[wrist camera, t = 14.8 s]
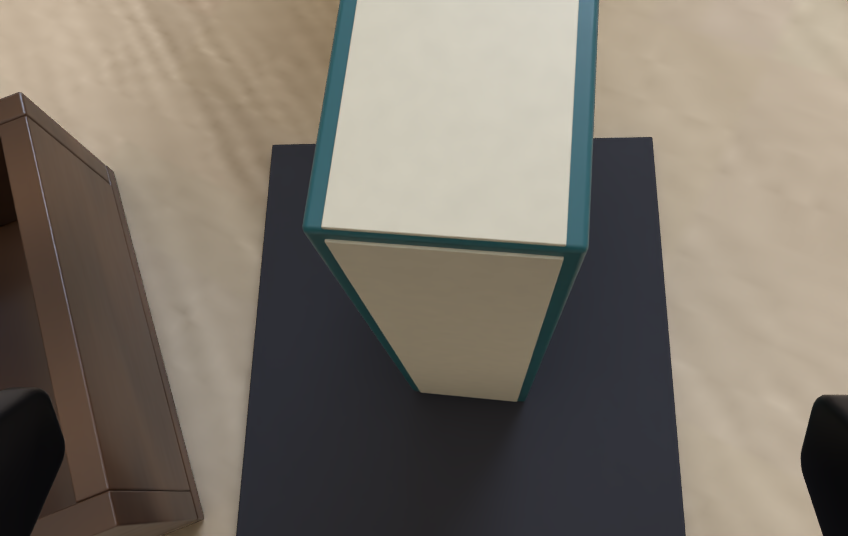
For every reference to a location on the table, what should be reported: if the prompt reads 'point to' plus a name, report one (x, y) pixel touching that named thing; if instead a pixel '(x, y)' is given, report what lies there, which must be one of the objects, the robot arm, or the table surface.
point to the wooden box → (85, 337)
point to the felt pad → (465, 416)
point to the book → (457, 181)
